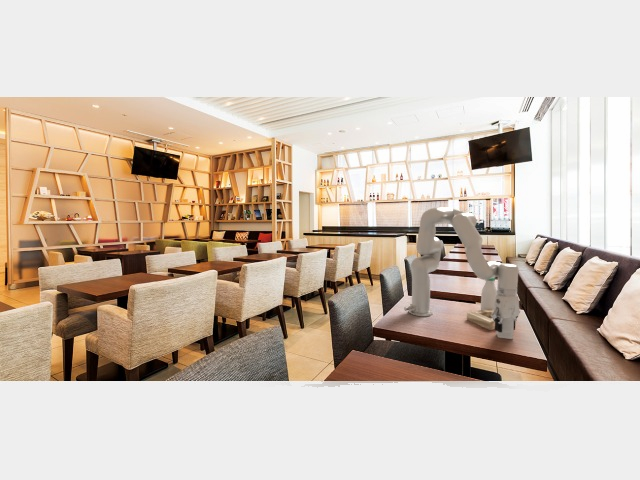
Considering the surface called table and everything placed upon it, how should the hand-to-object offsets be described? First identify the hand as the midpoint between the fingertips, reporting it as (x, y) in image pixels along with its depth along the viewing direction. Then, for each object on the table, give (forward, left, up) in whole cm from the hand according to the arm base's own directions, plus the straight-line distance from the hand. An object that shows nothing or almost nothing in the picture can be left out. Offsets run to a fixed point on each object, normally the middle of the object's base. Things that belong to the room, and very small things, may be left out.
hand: (504, 329), depth 135 cm
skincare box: (0, 0, -4) cm, 4 cm away
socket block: (+8, +15, -3) cm, 17 cm away
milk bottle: (+20, +27, -4) cm, 34 cm away
